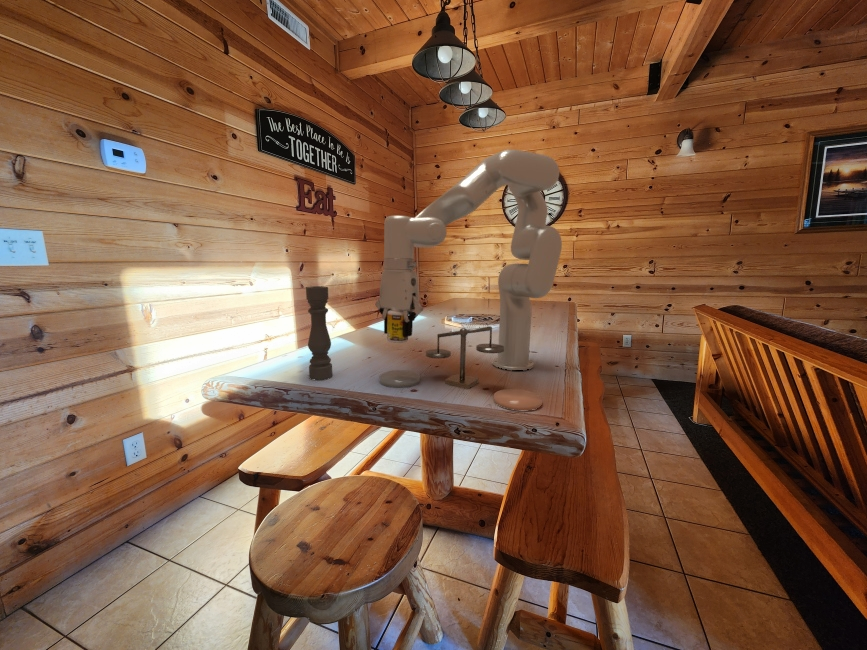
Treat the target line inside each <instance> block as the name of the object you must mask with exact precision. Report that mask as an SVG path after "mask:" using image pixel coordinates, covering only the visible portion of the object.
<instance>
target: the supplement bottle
mask: <svg viewBox="0 0 867 650" xmlns="http://www.w3.org/2000/svg"><path fill="white" fill-rule="evenodd" d="M408 315H409V313H408ZM403 322H405V319H404V315H403V311H402V310H397V309H395V308H394V307H393V308H391V310H389V311H388V314H387V334H386V339H387V342H389V343H393V344H405V343H406V342H408V341H409V340H408V339H409V336H408V337H403Z"/></svg>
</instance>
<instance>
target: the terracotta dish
mask: <svg viewBox="0 0 867 650" xmlns="http://www.w3.org/2000/svg"><path fill="white" fill-rule="evenodd" d="M493 402H494V404H495V403H496V404H498V405H500V406H502V407H505V408H508V409H514V410H532V409H536V408H539V407H540V406H541V405H542V406H543V398H542V397H541V396H540V395H539V394H538V393H535V392H532V391H530V390H527V389H522V388H521V389H520V388H504V389H501V390H500V389H499V390H498V391H495V393H494V394H493ZM496 404H495V405H496ZM498 405H497V406H498ZM500 406H499V407H500ZM542 406H541V407H542ZM502 407H501V408H502ZM541 407H540V408H541ZM540 408H539V409H540ZM508 409H507V410H508Z"/></svg>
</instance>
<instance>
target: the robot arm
mask: <svg viewBox="0 0 867 650" xmlns="http://www.w3.org/2000/svg"><path fill="white" fill-rule="evenodd" d="M559 178H560V168H559V165H558V163H557V162H556V160H554V158H552V157H550V156H548V155H544V154H540V153H534V152H530V151H526V150H519V149H513V148H512V149H503V150H502V151H498V152H496V153H495V154H492V155H490V156H488V157H486V158H484V159H483V160H481V161H480V163H478V164H477V165H476V166H475V167H474V168H473V169H472V170H470V171H469V172H468V173H467V174H466V175H464V177H463V178H461V179H460V180H459V181H458V182H457V183H456V184H454V185H453V186H452V187H451V188H449V189H448V190H447V191H445V192H444V193H443V194H441V196H439V197H438V198H436V199H435V200H433V202H432V203H430V204H429V205H428V206H426V207H425V208H424V209H423V210H422V211H420V212H419V213H418V214H417V215H416V216H414V217H411V216H407V215H398V214H397V215H396V214H395V215H389V216H387V217H386V218H385V220H384V224H383V225H384V229H383V230H384V233H383V235H384V239H383V242H384V244H383V245H384V246H383V247H384V248H383V249H384V251H383V266H384V267H383V268H384V269H383V270H382V272H381V278H380V286H379V298H378V299H377V301H376V302H375V304H374V305H375V307H376V308H377V310H378V311H379V313H380V314H381V318H382V319H383V332H384V334H385V335H387V314H388V311H389V310H391V308H393V307H394V308H395V309H397V310H402V311H403V315H404V319H405V322H403V337H408V338H409V337H411V336H412V335H413V327H414V325H413V324H414V323H413V322H414V321H415V319H416V318H417V317H418V316H419V315H420V314H421V313H422V312H423V311H424V307H423V306H422V304H421V303H420V293H419V292H420V291H419V282H418V276H417V272H416V271H414V268H416V267H417V265H418V263H417V262H416V261H414V260H415V259H414V253H415V252H414V250H415V248H432V247H433V248H434V247H436V246H439V245H441V244H442V243H443V242H444V240H445V239H446V237H447V226H449V224H452V223H453V222H456V221H457V220H460V219H462V218H464V217H466V216H468V215H470V214H472V213H473V212H475V211H476V210H478V208H479V207H480V206H481V205H482V204H483V203H484V202H485V201H486V200H488V199H489V198H490V197H491V196H493V194H495V192H496V191H498V190H499V189H500V188H502V187H505V186H507V188H508V190H509V191H510V194H512V196H513V197H514V199H515V201H516V205H517V216H516V222H515V226H514V230H513V234H512V238H511V244H510V252H511V255H512V256H513V257H515V258H516V259H518V260H522V261H523V260H524V261H528V263H511V264H508V265H506V266H505V267H503V268H502V269H501V271H500V272H499V273H498V279H497V280H498V281H497V284H498V285H497V286H498V292H499V293H498V294H499V324H498V343H497V344H498V345H502V346H504V352H502V353H497V357H495V358H494V359H492V365H493V366H494V367H496V368H498V367H499V369H501V368H502V369H501V370H505V369H507V370H506V371H512V370H523V371H528V370H527V369H529V370H531V368H532V367H533V368H534V366H535V363H534V362H533V361H532V360H530V352H531V350H530V348H531V347H530V345H531V328H532V326H531V325H532V316H533V315H532V313H533V312H532V311H533V310H532V309H533V308H532V303H531V299H530V298H532V299H540V298H543V297H545V296H547V295H548V293H550V291H551V289H552V286H553V285H554V281H555V277H556V274H557V269H558V266H559V261H560V257H561V253H562V244H563V243H562V238H561V234H560V232H559V231H558V230H557V228H555V227H553V226H551V225H546V222H547V218H548V206H547V202H546V200H545V197H544V196H543V194H542V193H541V192H543V191H548V190H549V189H551V188H553V187H554V186H555V185H556V184H557V181H558V180H559ZM408 313H409V315H408ZM533 368H532V369H533Z"/></svg>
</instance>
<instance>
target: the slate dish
mask: <svg viewBox="0 0 867 650" xmlns="http://www.w3.org/2000/svg"><path fill="white" fill-rule="evenodd" d="M378 381H379V384H380V385H382V386H385V387H389V388H394V389H395V388H396V389H398V388H399V389H400V388H409V387H413V386H416V385H418V384H419V383H420V382H421V376H420V374H419V373H418V372H415V371H412V370H390V371H386V372H383V373H381V374H380V375H379V379H378Z"/></svg>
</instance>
